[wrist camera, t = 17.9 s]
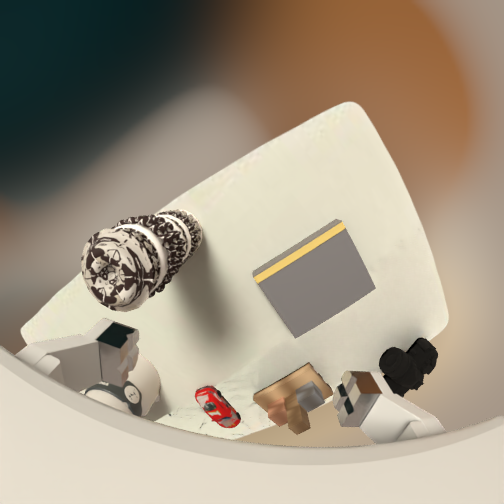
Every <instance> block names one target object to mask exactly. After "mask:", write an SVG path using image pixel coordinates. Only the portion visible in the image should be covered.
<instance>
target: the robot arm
mask: <svg viewBox="0 0 504 504" xmlns="http://www.w3.org/2000/svg"><path fill="white" fill-rule="evenodd" d="M138 340H139V331H138V329H135V328H132V327H129V326H126V325H123V324H120V323H118V322H115V321H112V320H109V319H106V318H102V319H101V320H100V321H99V322H98V323H96V324H95V325H94V326H93V327H92V328H91V329H90V330H89V331H88V332H86V333H85V334H84V335H82V334H78V335H73V336H67V337H62V338H56V339H51V340H45V341H39V342H33V343H30V344H29V345H27V346H26V347H25V348H24V349H22V350H21V351H20V352H19V353H18V354H16V355H13V354H12V353H10V352H9V351H8V350H6V349H5V348H3V347H2V346H1V345H0V504H504V417H503V416H496V417H493V418H491V419H488V420H485V421H482V422H479V423H477V424H473V425H471V426H467V427H463V428H460V429H457V430H453V431H449V432H446V431H445V430H444V428H443V427H442V425H441V424H440V422H439V421H438V419H437V418H436V417H435V416H433V415H431V414H429V413H428V412H426V411H424V410H423V409H421V408H419V407H417V406H416V405H414V404H412V403H411V402H409V401H407V400H406V399H404V398H402V397H401V396H399V395H397V394H393V392H392V391H391V389H390V387H389V386H388V384H387V383H386V381H385V380H384V378H383V376H382V375H381V373H379V372H372V371H368V372H365V371H345V372H344V374H343V376H342V378H341V380H342V384H340V385H339V386H337V388H336V390H335V392H334V396H333V404H334V407H335V409H337V410H338V411H339V413H338V415H337V416H338V419H339V422H340V425H341V426H342V427H359V428H360V429H361V430H362V431H363V432H364V433H365V434H366V435H367V436H368V437H370V438H371V439H372V440H373V441H374V442H375V443H376V445H366V446H350V447H349V446H348V447H297V446H281V445H269V444H259V443H251V442H243V441H237V440H230V439H224V438H219V437H213V436H208V435H204V434H199V433H194V432H190V431H186V430H182V429H178V428H174V427H171V426H167V425H164V424H160V423H157V422H154V421H151V420H147V419H144V418H141V416H145V415H147V413H148V411H149V410H150V408H151V406H152V405H153V403H154V402H159V401H160V396H159V388H160V377H159V374H158V372H157V370H156V368H155V367H154V365H153V364H152V363H151V362H150V361H149V360H148V359H147V358H145V357H144V356H143V355H141V354H139V348H138V347H137V345H136V343H137V342H138ZM84 389H85V394H82V393H79V392H80V391H82V390H84Z"/></svg>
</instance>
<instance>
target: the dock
mask: <svg viewBox="0 0 504 504" xmlns="http://www.w3.org/2000/svg"><path fill="white" fill-rule="evenodd" d="M253 277H254V279H255V281H256V282H257V284H258V285H259V286H260V288H261V289H262V291H263V292H264V294H265V295H266V296H267V298H268V299H269V301H270V302H271V304H272V305H273V307H274V308H275V310H276V311H277V313H278V314H279V315H280V317H281V318H282V320H283V321H284V323H285V324H286V326H287V327H288V329H289V330H290V331H291V333H292V334H293V336H294V337H295V338H297V337H299V336H301V335H302V334H304V333H306V332H308V331H309V330H311V329H313V328H315V327H316V326H318V325H320V324H321V323H323V322H325V321H326V320H328V319H329V318H331V317H333V316H334V315H336V314H338V313H339V312H341V311H342V310H344V309H345V308H347V307H349V306H350V305H352V304H353V303H355V302H356V301H358V300H359V299H361V298H362V297H364V296H365V295H367V294H368V293H370V292H371V291H373V290H374V289H376V288H375V285H374V283H373V281H372V279H371V277H370V275H369V273H368V271H367V269H366V267H365V265H364V263H363V261H362V259H361V257H360V255H359V253H358V251H357V249H356V247H355V245H354V243H353V241H352V239H351V237H350V236H349V234H348V232H347V230H346V228H345V226H344V224H343V222H342V221H341V220H338V219H335V220H334V221H332V222H331V223H329V224H327V225H326V226H324V227H323V228H321V229H320V230H318V231H316V232H315V233H313V234H312V235H310V236H309V237H307V238H305V239H304V240H302V241H301V242H299V243H298V244H296V245H294V246H293V247H291V248H290V249H288V250H286V251H285V252H283V253H282V254H280V255H278V256H277V257H275V258H274V259H272V260H270V261H269V262H267V263H266V264H264V265H262V266H261V267H259V268H258V269H256V270H254V271H253Z"/></svg>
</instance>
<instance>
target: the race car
mask: <svg viewBox="0 0 504 504" xmlns="http://www.w3.org/2000/svg"><path fill="white" fill-rule="evenodd" d="M195 398H196V401H197V402H198V403H199V404H200V406H201V407H202V408H203V410H204V411H205V412H206V413H207V414H208V415H209V416H210V417H211V418H212V419H213V420H212V421H216V422H217V423H218V424H219V425H220V426H222V427H224V428H234V427H236V426H237V425H238V424H239V423H240V421H241V418H240V414H239V413H238V412H236V411H235V409H234V408H233V407H232V406H231V405H230V404H229V403H228V401H227V400H226V399H225V398H224V397H223V396H222V395H221V392H220V391H219V390H217V389H216V388H214V387H212V386H206V387H203V388H200V389H198V390H197V391H196V393H195Z"/></svg>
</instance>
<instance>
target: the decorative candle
mask: <svg viewBox="0 0 504 504" xmlns="http://www.w3.org/2000/svg"><path fill="white" fill-rule="evenodd" d="M201 241H202V228H201V225H200V222H199V220H198V219H197V218H196V217H195V216H194V215H193V214H192V213H190V212H187V211H185V210H173V211H172V210H169V211H166V212H162V213H158V214H157V215H156V216H155V215H149V216H138V217H136V218H134V217H130V218H128V219H127V220H121V221H119V222H118V224H117V226H114V227H112V228H111V229H104V230H102V231H100V232H98V233H96V234H94V235H93V236H92V237H91V238H90V240H89V241H88V243H87V244H86V245H85V247H84V251H83V255H82V259H81V265H82V274H83V278H84V280H85V283H86V285H87V287H88V290H89V291H90V293H91V294H92V295H93V296H94V297H95V298H96V299H97V301H98V302H99V303H101V304H102V305H104V306H106V307H108V308H109V309H111V310H115V311H122V312H127V311H131V310H134V309H137V308H139V307H140V306H141V305H142V304H143V303H144V302H145V301H146V300H147V299H148V298H150V297H153V296H154V295H155V291H156V292H162V291H163V290H164V288H165V284H167V283H170V282H171V280H172V276H173V275H175V273H177V272H178V270H179V267H181V266H182V264H184V263H185V262H186V261H187V260H188V259H189V258H190V257H191V256H192V255H193V253H195V252H196V251H197V250H198V248H199V246H200V243H201Z"/></svg>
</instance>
